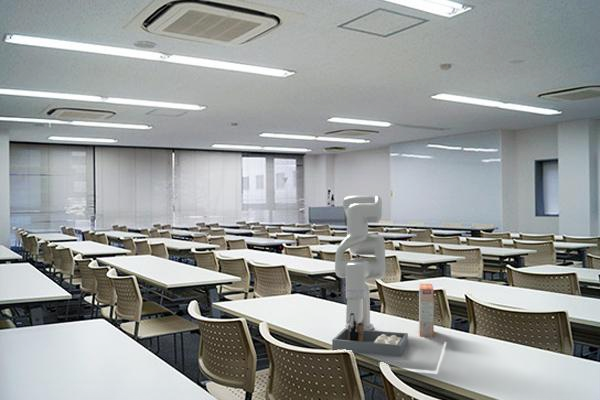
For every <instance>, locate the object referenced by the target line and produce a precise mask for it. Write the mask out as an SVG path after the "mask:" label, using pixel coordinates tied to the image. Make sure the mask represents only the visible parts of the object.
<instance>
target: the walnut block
mask: <svg viewBox="0 0 600 400" xmlns="http://www.w3.org/2000/svg"><path fill="white" fill-rule="evenodd" d="M354 324H356V323H354ZM354 326H355V328H356V325H354ZM357 332H358V341H361V342H363V341H364V323H359V324H358V328H357ZM348 340H350V324H349V325H348Z"/></svg>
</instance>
